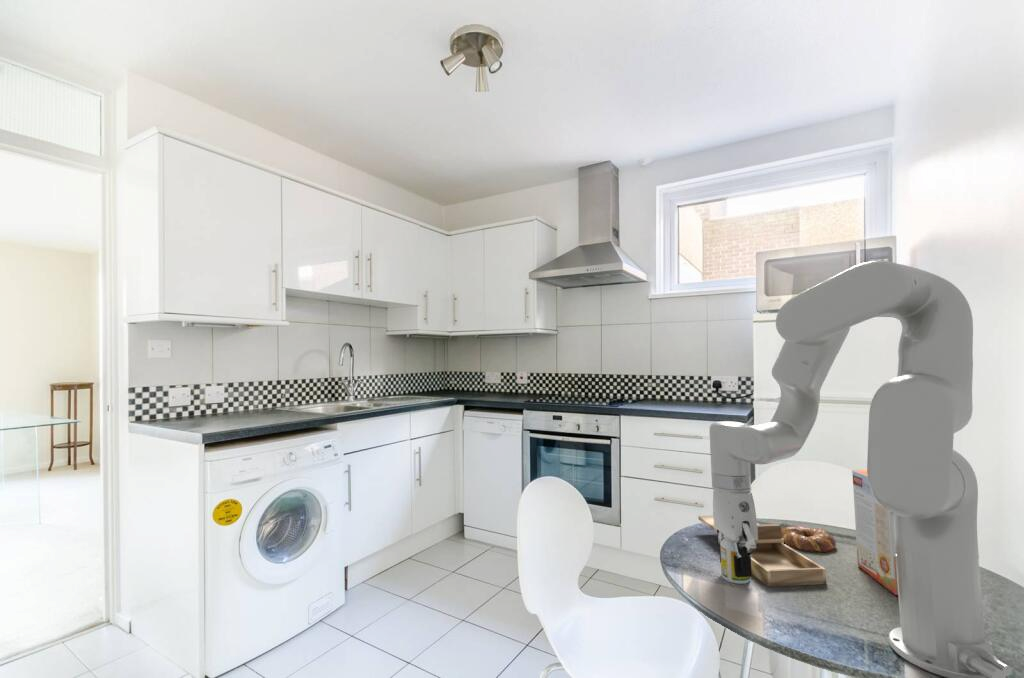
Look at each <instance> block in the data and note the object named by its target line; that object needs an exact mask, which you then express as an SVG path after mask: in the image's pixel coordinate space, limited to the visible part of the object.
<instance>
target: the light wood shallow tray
mask: <svg viewBox="0 0 1024 678" xmlns="http://www.w3.org/2000/svg"><path fill="white" fill-rule="evenodd" d="M751 571H752V575H753V576H754V577H755V578H757V579H758V580H759V581H760V582H762V583H763V584H764V585H766V586H767V587H770V588H771V587H787V586H789V587H791V586H812V585H815V586H816V585H827V572H826V571H827V570H826V568H825V567H824V566H822V565H820V564H819V563H817V562H815V561H813V560H812V559H810V558H809V557H807V556H806V555H804V554H802V553H801V552H799V551H797V550H796V549H795V548H793V547H790V546H789V545H787V544H784V543H782V542H781V543H757V544H756V549H755V550H754V551H753V553H752V557H751Z"/></svg>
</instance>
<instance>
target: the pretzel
mask: <svg viewBox="0 0 1024 678" xmlns="http://www.w3.org/2000/svg"><path fill="white" fill-rule="evenodd" d="M781 534H782V538H783V539H784V542H783V543H785V545H787V544H788V545H787V546H789V545H790V546H791V547H790V546H789V547H790V548H793V547H794V548H793V549H796V548H799V549H798V550H802V551H804V550H805V552H808V551H813V552H812V553H816V552H815V551H820V552H819V553H827V552H831V551H832V550H834V549H835V548H836V547H837V541H836V539H835V538H834V537H833V536H832V535H830V534H829V532H828V531H826V530H824V529H821V528H816V527H814V528H812V529H811V527H809V526H803V525H795V526H794V525H793V526H786V527H783V528H781Z"/></svg>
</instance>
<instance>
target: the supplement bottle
mask: <svg viewBox="0 0 1024 678" xmlns="http://www.w3.org/2000/svg"><path fill="white" fill-rule="evenodd" d="M723 536H724V538H725V539H723V540H722V541H721V543H720V548H721V563H720V565H721V566H720V567H721V569H720V571H721V577H722V578H723V580H725V581H727V582H729V583H732V584H737V585H738V584H739V585H743V584H744V585H745V584H748V583H749V582H750V581H751V577H737V576H735V567H734V556H736V552H735V547H734V542H733V540H731V539H730V538H728V537H727V536H726V535H723ZM739 539H740V540H744V537H739ZM739 546H740V549H741V548H742V546H745V544H744V543H742V544H739Z"/></svg>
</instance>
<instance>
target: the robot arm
mask: <svg viewBox="0 0 1024 678" xmlns="http://www.w3.org/2000/svg"><path fill="white" fill-rule="evenodd" d="M972 314H973V313H972V309H971V306H970V303H969V301H968V300H967V298H966V297H965V295H964V294H963V292H962V291H961V290H960V289H959V288H958V287H957V286H956V285H955V284H953V282H951V281H949V280H947V279H946V278H944V277H941V276H939V275H936V274H934V273H933V272H929V271H926V270H923V269H919V268H917V267H913V266H910V265H906V264H901V263H896V262H892V261H889V260H871V261H866V262H861V263H859V264H857V265H854V266H852V267H849V268H848V269H846V270H844V271H841V272H839V273H838V274H836V275H834V276H832V277H829V278H827V279H826V280H824V281H822V282H820V283H818V284H816V285H814V286H812V287H810V288H807V289H806V290H804V291H802V292H800V293H798V294H796V295H795V296H793V297H791V298H790V299H788V300H787V301H786V302H785V303H783V305H782V306H781V307H780V309H779V310H778V311H777V314H776V319H775V326H776V327H775V329H776V331H777V333H778V334H779V336H780V337H781V338H782V339H783V340H785V341H784V342H783V345H782V346H781V349H780V351H779V353H778V356H777V357H776V360H775V361H774V364H773V366H772V369H771V377H772V378H773V379H774V380H775V381H776V383H777V384H778V386H779V389H780V399H779V402H778V406H777V407H776V410H775V412H774V414H773V416H772V418H771V419H770V422H766V423H759V424H753V425H746V424H745V423H743V422H741V421H740V422H739V421H731V420H723V421H722V420H719V421H714V422H712V423H711V424H710V426H709V450H710V452H709V453H710V468H711V469H710V470H711V472H710V473H711V488H712V489H713V491H712V493H713V495H712V516H713V519H714V525H715V527H716V529H717V532H716V533H717V537H718V539H717V541H718V542H717V543H718V545H719V547H718V548H719V563H720V564H721V548H720V543H721V541H722V540H723V539H725V538H724V536H723V535H726V536H727V537H728V538H730V539H731V540H733V542H734V547H735V552H736V556H734V567H735V576H737V577H750V578H751V577H752V575H753V574H752V571H751V557H752V553H753V551H754V550H755V549H756V543H755V542H756V541H757V540H758V529H757V523H758V520H757V513H756V512H757V511H756V505H755V501H754V496H753V492H752V479H751V476H752V475H751V464H753V465H758V466H759V465H768V464H771V463H775V462H778V461H782V460H787V459H790V458H792V457H794V456H796V454H798V453H799V452H800V450H801V449H802V448H803V446H804V444H805V443H806V442H807V440H808V437H809V435H810V433H811V431H812V429H813V428H814V425H815V422H816V420H817V417H818V414H819V407H820V400H821V390H822V387H823V385H824V382H825V380H826V378H827V376H828V374H829V371H830V370H831V367H832V365H833V364H834V362H835V360H836V358H837V355H838V354H839V353H840V350H841V348H842V346H843V344H844V342H845V341H846V339H847V337H848V334H849V332H850V330H851V327H853V326H856V325H858V324H860V323H863V322H865V321H868V320H871V319H873V318H876V317H882V318H894V319H897V320H898V321H899V323H901V334H900V337H899V340H898V342H899V343H898V351H897V353H898V362H897V363H898V365H897V375H896V377H894V378H891V379H890V380H888V381H886V382H885V383H883V384H882V385H881V386H879V388H878V389H877V390H876V391H875V393H874V395H873V397H872V399H871V402H870V407H869V411H868V412H869V413H868V414H869V415H868V435H867V437H868V438H867V460H866V463H867V465H866V466H867V467H866V470H867V476H868V482H869V486H870V489H871V491H872V493H873V495H874V497H875V498H876V499H877V500H878V502H879V503H880V504H881V505H882V506H883V507H885V508H886V509H887V510H889V511H890V512H892V513H894V536H895V554H896V569H897V583H898V595H897V596H898V606H899V607H898V609H899V610H898V611H899V625H900V626H898V627H894V628H893V629H891V630H890V631H889V633H888V641H889V645H890V647H891V648H892V650H894V651H895V653H896V654H897V655H899V656H901V657H902V658H903V659H904V660H905V661H908V662H909V663H911V664H912V665H914V666H917V667H918V668H920V669H922V670H925V671H927V672H930V673H932V674H936V675H938V676H941V677H944V678H1007V677H1010V676H1011V675H1012V674H1013V669H1012V667H1011V666H1010V665H1008V664H1007V663H1005V662H1003V661H1001V660H999V658H997V656H995V655H994V647H993V646H994V645H993V643H992V642H990V641H989V640H987V639H985V636H986V635H985V625H984V624H985V623H984V613H983V611H984V610H983V600H982V586H981V584H982V583H981V574H980V564H979V563H980V561H979V559H980V555H979V543H978V541H979V540H978V502H979V501H978V499H979V489H978V486H979V485H978V480H977V476H976V473H975V471H974V469H973V467H972V465H971V464H970V463H969V461H968V460H967V459H966V458H965V457H964V456H963V455H962V454H960V453H959V452H958V451H957V450H955V449H954V436H955V433H957V432H959V431H961V430H962V429H964V428H965V427H966V426H967V425H969V422H970V421H971V418H972V416H973V408H974V407H973V378H974V377H973V376H974V375H973V374H974V373H973V371H974V370H973V367H974V358H973V357H974V356H973V355H974V354H973V353H974V352H973V348H974V345H973V344H974V342H973V341H974V323H973V322H974V321H973V315H972ZM739 537H744V540H740V539H739ZM742 543H744V544H745V546H742V548H741V549H740V546H739V544H742Z"/></svg>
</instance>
